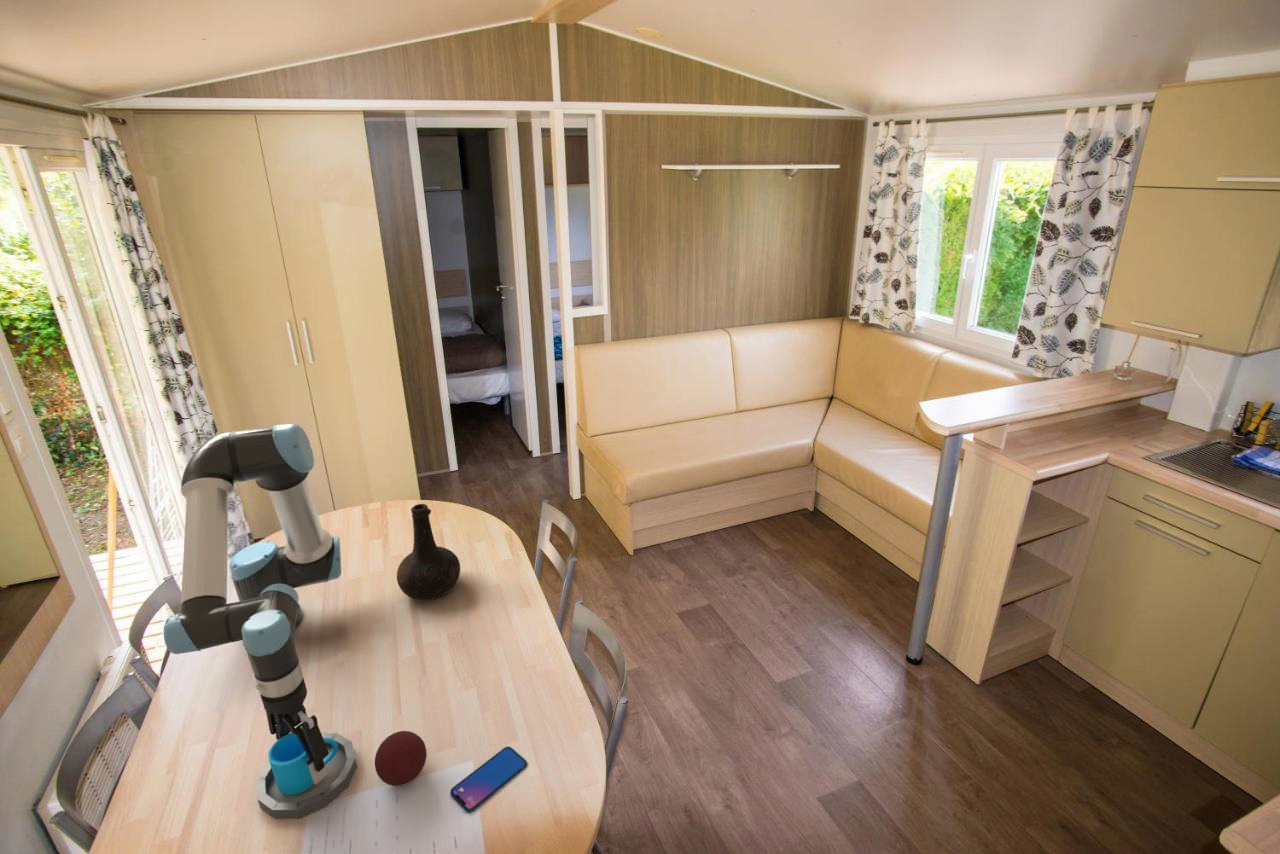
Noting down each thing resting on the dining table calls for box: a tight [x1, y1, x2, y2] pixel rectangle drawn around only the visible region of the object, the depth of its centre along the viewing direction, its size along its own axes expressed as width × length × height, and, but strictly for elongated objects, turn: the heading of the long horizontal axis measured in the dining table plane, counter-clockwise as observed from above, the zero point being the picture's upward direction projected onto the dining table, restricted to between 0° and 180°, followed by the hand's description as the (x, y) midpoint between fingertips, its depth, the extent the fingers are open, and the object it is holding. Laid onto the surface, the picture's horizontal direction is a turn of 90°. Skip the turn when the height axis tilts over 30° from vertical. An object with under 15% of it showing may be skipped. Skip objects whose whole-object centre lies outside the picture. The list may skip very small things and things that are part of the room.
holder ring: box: [255, 732, 358, 820], centre depth 133 cm, size 18×18×2 cm
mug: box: [267, 732, 338, 795], centre depth 131 cm, size 12×8×8 cm
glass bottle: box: [396, 503, 461, 601], centre depth 186 cm, size 18×18×28 cm
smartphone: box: [449, 746, 528, 814], centre depth 133 cm, size 7×1×15 cm
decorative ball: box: [374, 730, 428, 787], centre depth 132 cm, size 10×10×10 cm
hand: (306, 769), depth 133 cm, fingers closed on mug, 8 cm apart
